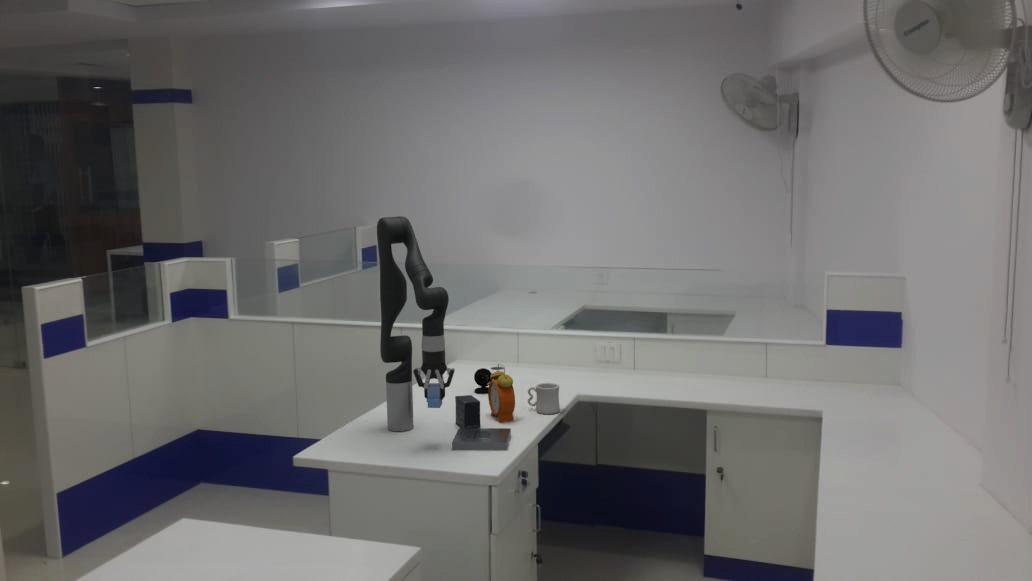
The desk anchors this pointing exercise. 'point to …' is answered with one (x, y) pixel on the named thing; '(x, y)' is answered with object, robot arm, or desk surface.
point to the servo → (434, 395)
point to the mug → (546, 398)
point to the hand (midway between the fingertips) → (434, 398)
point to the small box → (467, 412)
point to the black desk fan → (482, 380)
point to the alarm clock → (501, 396)
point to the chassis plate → (481, 439)
